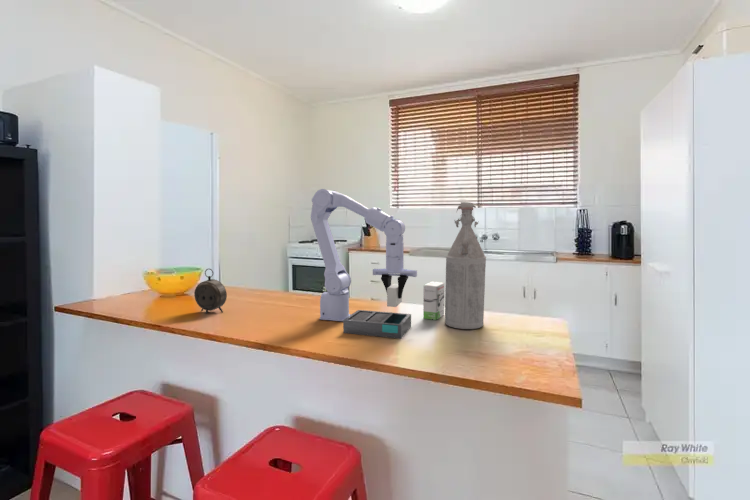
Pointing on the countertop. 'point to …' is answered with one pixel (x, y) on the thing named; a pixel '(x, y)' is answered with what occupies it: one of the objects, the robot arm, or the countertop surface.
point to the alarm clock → (210, 294)
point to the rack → (377, 324)
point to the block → (393, 296)
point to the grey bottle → (465, 276)
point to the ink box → (433, 300)
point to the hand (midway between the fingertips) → (394, 297)
